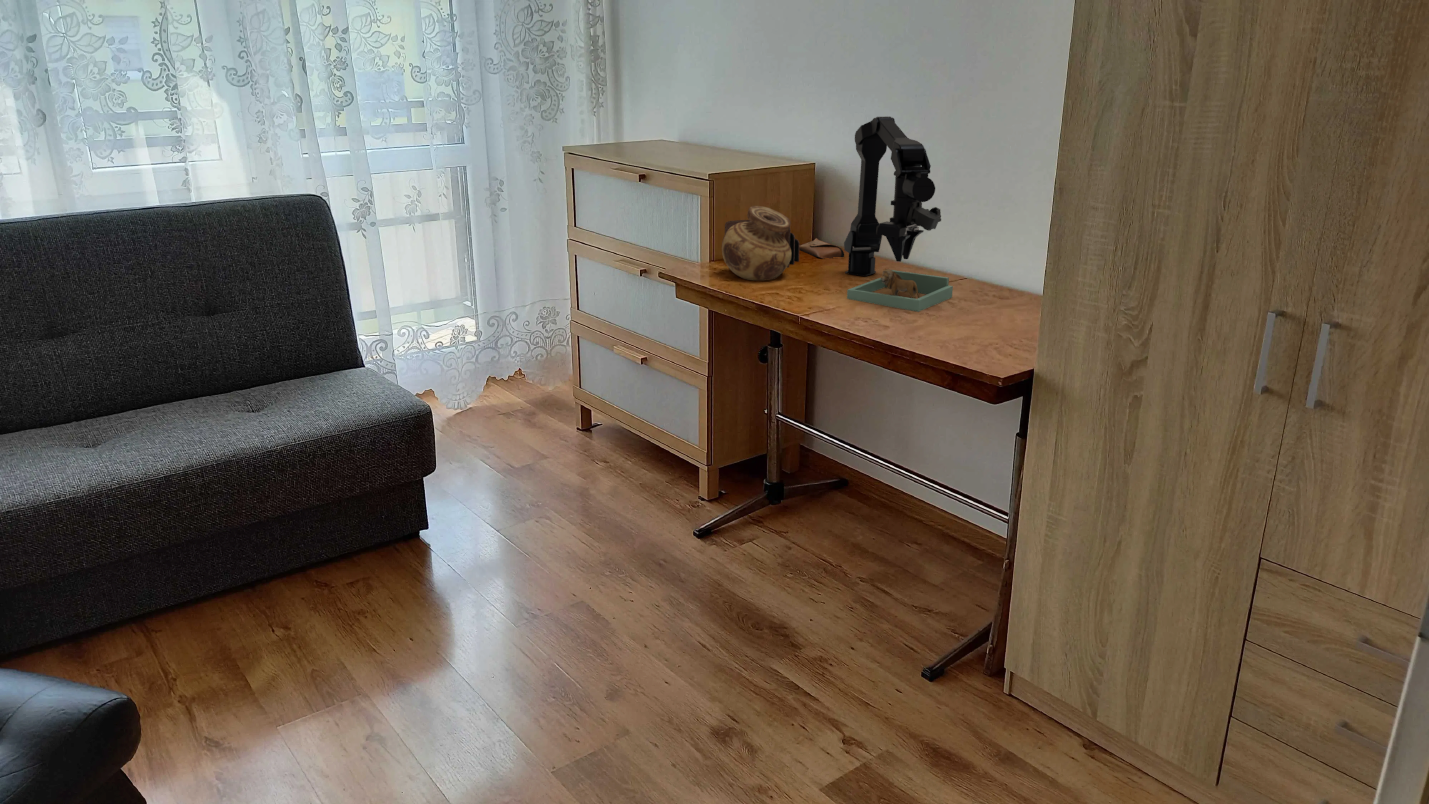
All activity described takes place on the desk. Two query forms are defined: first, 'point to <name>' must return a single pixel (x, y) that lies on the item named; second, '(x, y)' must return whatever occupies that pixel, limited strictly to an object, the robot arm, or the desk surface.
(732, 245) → the clay pot
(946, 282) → the cold frame
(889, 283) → the lion figurine
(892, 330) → the desk surface
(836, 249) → the sunglasses case
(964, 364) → the desk surface
